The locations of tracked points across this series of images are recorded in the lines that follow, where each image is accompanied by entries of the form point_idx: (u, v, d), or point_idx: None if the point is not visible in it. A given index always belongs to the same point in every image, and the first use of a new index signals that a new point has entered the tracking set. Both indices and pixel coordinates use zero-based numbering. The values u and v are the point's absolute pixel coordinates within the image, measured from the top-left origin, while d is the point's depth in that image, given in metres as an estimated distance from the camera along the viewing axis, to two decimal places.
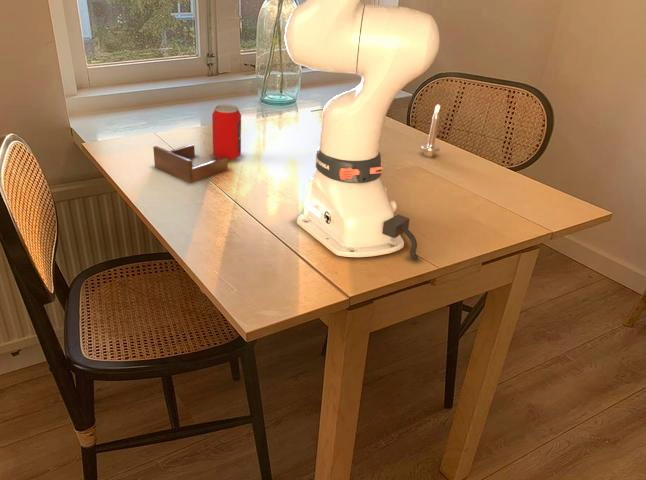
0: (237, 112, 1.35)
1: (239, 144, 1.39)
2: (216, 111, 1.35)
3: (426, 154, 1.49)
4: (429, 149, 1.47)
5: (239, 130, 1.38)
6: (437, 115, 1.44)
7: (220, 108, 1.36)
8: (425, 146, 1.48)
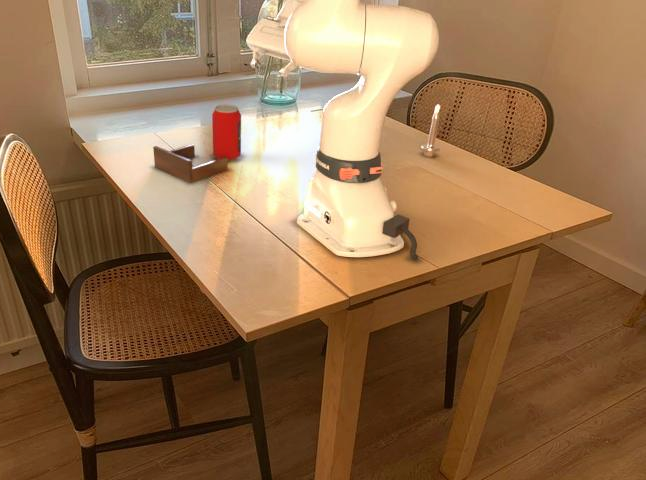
0: (237, 112, 1.35)
1: (239, 144, 1.39)
2: (216, 111, 1.35)
3: (426, 154, 1.49)
4: (429, 149, 1.47)
5: (239, 130, 1.38)
6: (437, 115, 1.44)
7: (220, 108, 1.36)
8: (425, 146, 1.48)
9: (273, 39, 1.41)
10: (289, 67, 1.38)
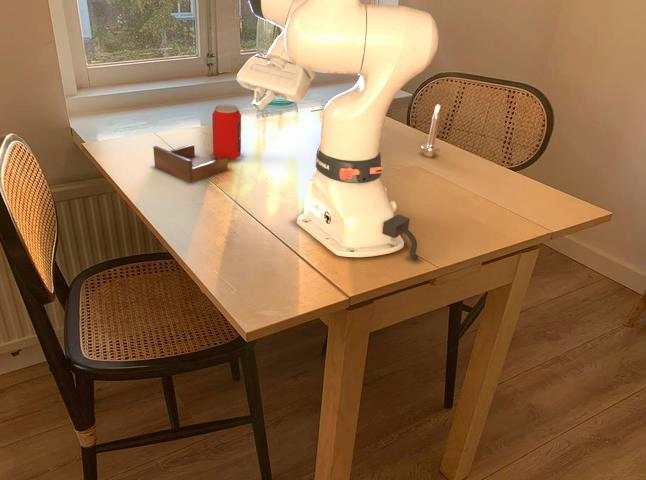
0: (237, 112, 1.35)
1: (239, 144, 1.39)
2: (216, 111, 1.35)
3: (426, 154, 1.49)
4: (429, 149, 1.47)
5: (239, 130, 1.38)
6: (437, 115, 1.44)
7: (220, 108, 1.36)
8: (425, 146, 1.48)
9: (262, 76, 1.43)
10: (265, 100, 1.42)
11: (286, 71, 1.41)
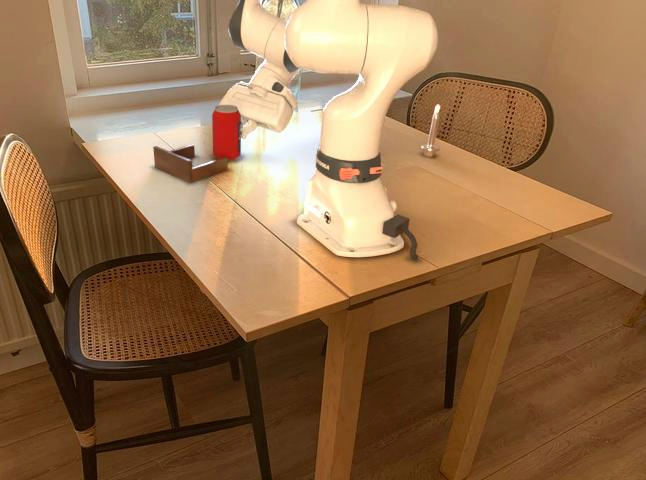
0: (237, 112, 1.35)
1: (239, 144, 1.39)
2: (216, 111, 1.35)
3: (426, 154, 1.49)
4: (429, 149, 1.47)
5: (239, 130, 1.38)
6: (437, 115, 1.44)
7: (220, 108, 1.36)
8: (425, 146, 1.48)
9: (244, 105, 1.43)
10: (247, 129, 1.41)
11: (268, 101, 1.40)
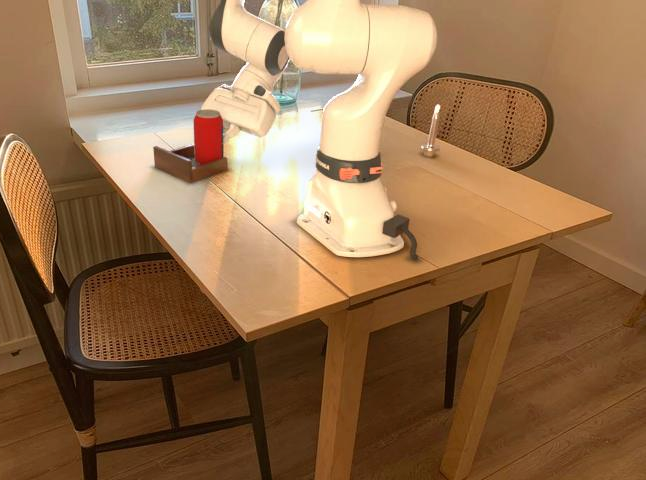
0: (220, 117, 1.32)
1: (222, 149, 1.36)
2: (198, 117, 1.31)
3: (426, 154, 1.49)
4: (429, 149, 1.47)
5: (222, 135, 1.34)
6: (437, 115, 1.44)
7: (201, 113, 1.32)
8: (425, 146, 1.48)
9: (226, 109, 1.39)
10: (229, 134, 1.38)
11: (250, 104, 1.36)
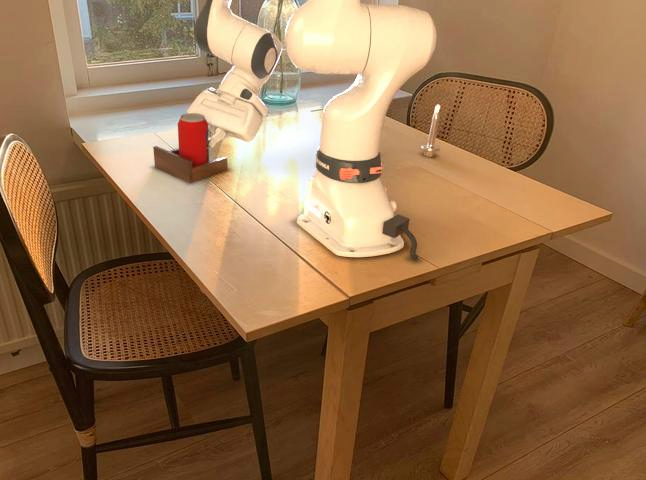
0: (204, 121, 1.29)
1: (207, 154, 1.33)
2: (182, 121, 1.28)
3: (426, 154, 1.49)
4: (429, 149, 1.47)
5: (207, 139, 1.31)
6: (437, 115, 1.44)
7: (186, 117, 1.29)
8: (425, 146, 1.48)
9: (212, 112, 1.36)
10: (215, 138, 1.35)
11: (236, 108, 1.33)
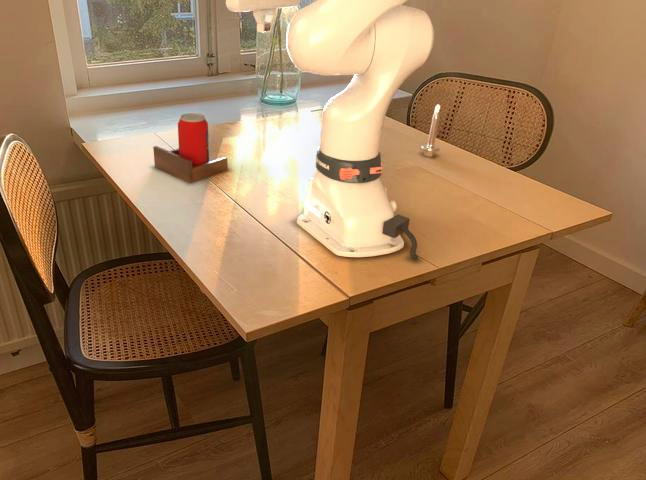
0: (204, 121, 1.29)
1: (207, 154, 1.33)
2: (182, 121, 1.28)
3: (426, 154, 1.49)
4: (429, 149, 1.47)
5: (207, 139, 1.31)
6: (437, 115, 1.44)
7: (186, 117, 1.29)
8: (425, 146, 1.48)
9: None
10: None
11: None
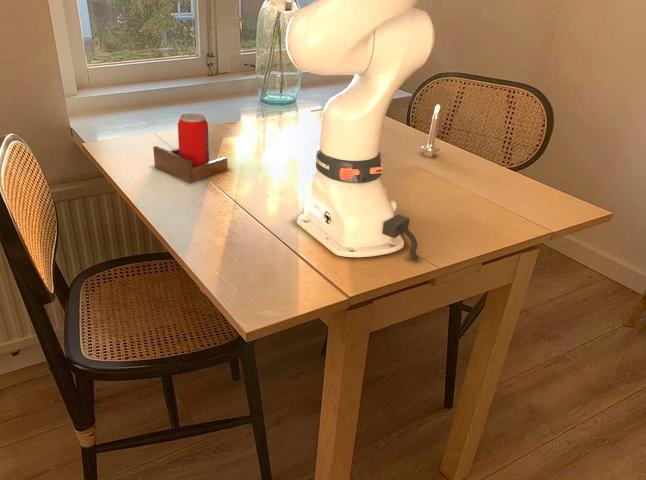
0: (204, 121, 1.29)
1: (207, 154, 1.33)
2: (182, 121, 1.28)
3: (426, 154, 1.49)
4: (429, 149, 1.47)
5: (207, 139, 1.31)
6: (437, 115, 1.44)
7: (186, 117, 1.29)
8: (425, 146, 1.48)
9: None
10: None
11: None
